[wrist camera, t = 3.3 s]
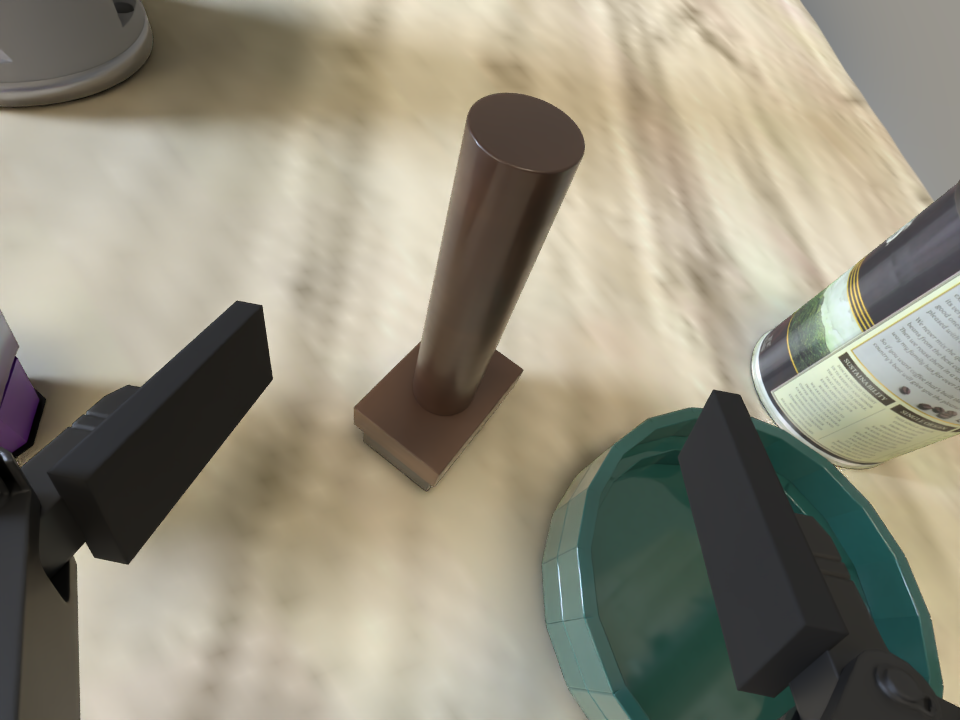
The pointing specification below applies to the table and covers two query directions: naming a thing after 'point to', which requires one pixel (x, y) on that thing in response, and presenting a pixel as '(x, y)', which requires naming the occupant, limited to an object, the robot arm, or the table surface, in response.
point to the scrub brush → (475, 285)
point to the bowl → (694, 580)
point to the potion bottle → (16, 398)
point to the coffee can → (874, 349)
